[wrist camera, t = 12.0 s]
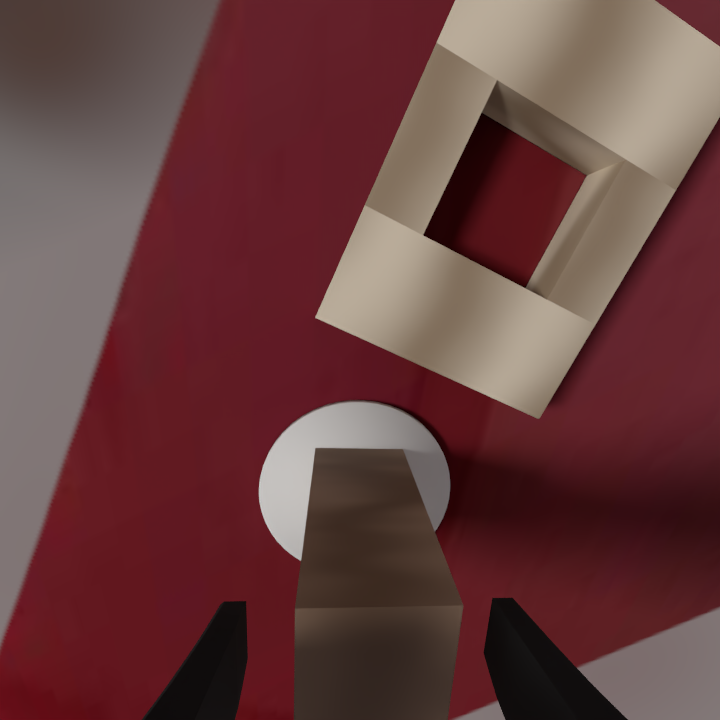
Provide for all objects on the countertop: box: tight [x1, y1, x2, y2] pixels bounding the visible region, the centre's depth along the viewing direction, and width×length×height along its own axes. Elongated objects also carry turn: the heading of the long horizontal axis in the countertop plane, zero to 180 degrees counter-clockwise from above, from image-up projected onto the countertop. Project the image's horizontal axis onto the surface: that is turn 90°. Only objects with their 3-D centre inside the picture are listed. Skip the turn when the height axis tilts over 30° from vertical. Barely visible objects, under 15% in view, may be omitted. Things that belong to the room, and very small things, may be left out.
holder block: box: [315, 0, 720, 419], centre depth 14 cm, size 10×14×2 cm
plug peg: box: [294, 448, 463, 720], centre depth 13 cm, size 4×4×8 cm
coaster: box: [259, 400, 450, 560], centre depth 17 cm, size 9×9×1 cm
